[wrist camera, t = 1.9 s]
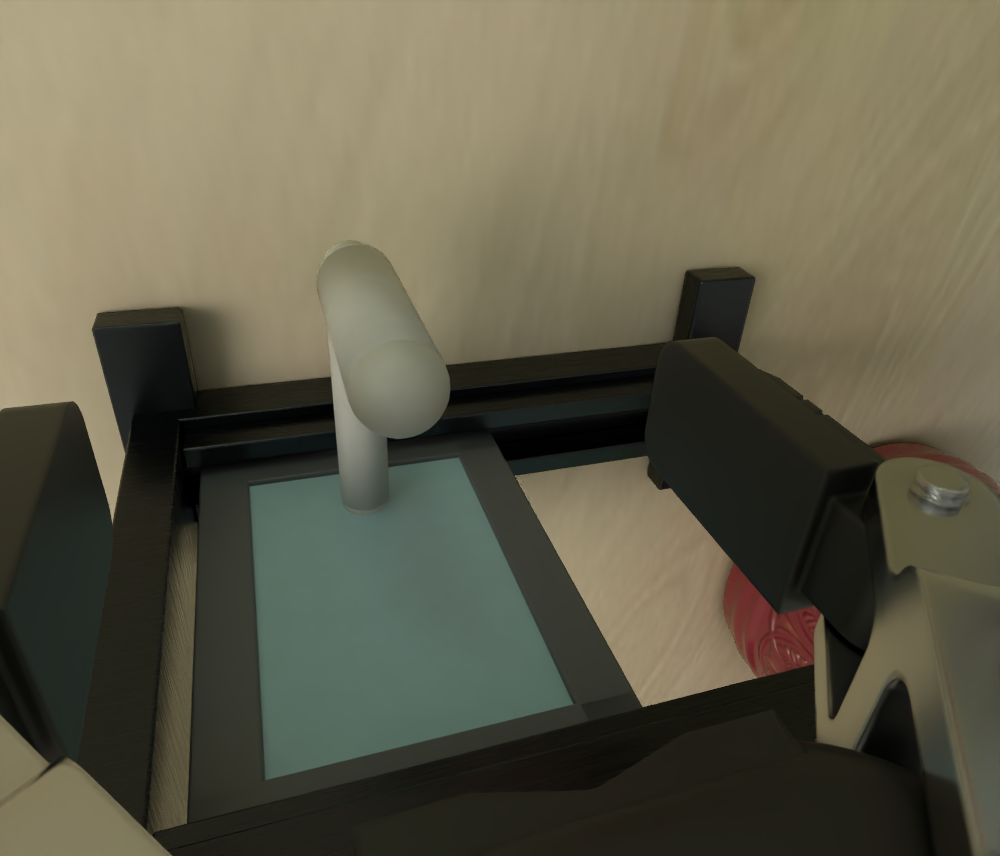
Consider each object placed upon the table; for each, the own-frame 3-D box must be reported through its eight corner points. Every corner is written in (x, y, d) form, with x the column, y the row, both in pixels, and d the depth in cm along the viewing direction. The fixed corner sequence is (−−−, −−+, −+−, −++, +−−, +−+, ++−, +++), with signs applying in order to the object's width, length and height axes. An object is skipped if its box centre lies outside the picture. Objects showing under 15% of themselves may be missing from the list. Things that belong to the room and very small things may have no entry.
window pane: (498, 193, 18) (749, 417, 10) (486, 442, 22) (657, 762, 14) (146, 205, 16) (61, 513, 7) (204, 480, 20) (191, 892, 11)
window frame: (739, 266, 24) (1227, 567, 12) (693, 467, 28) (1023, 832, 17) (96, 312, 19) (-107, 914, 7) (159, 552, 23) (97, 1173, 11)
